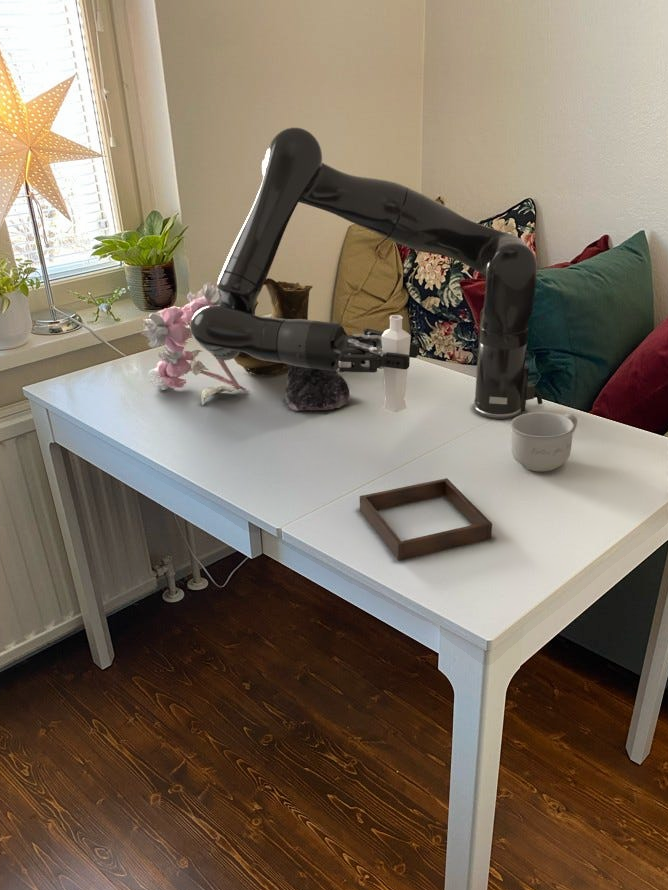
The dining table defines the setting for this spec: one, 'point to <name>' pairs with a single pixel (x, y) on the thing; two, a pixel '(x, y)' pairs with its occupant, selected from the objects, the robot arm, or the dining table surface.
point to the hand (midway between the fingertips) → (413, 356)
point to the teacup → (542, 439)
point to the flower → (183, 344)
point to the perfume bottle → (393, 377)
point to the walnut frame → (427, 543)
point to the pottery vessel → (285, 305)
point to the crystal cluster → (315, 389)
